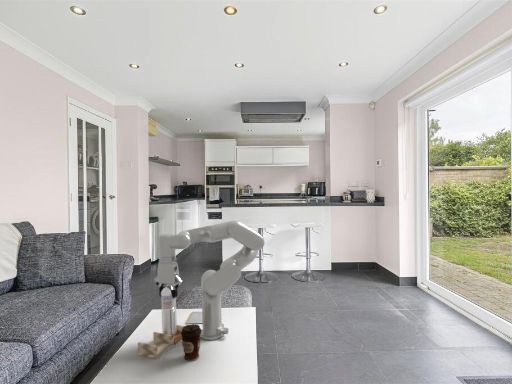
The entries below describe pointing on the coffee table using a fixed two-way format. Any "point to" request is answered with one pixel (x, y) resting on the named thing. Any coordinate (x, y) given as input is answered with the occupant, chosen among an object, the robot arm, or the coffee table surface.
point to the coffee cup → (191, 341)
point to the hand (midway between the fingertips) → (168, 296)
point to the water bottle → (168, 311)
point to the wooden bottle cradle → (160, 344)
